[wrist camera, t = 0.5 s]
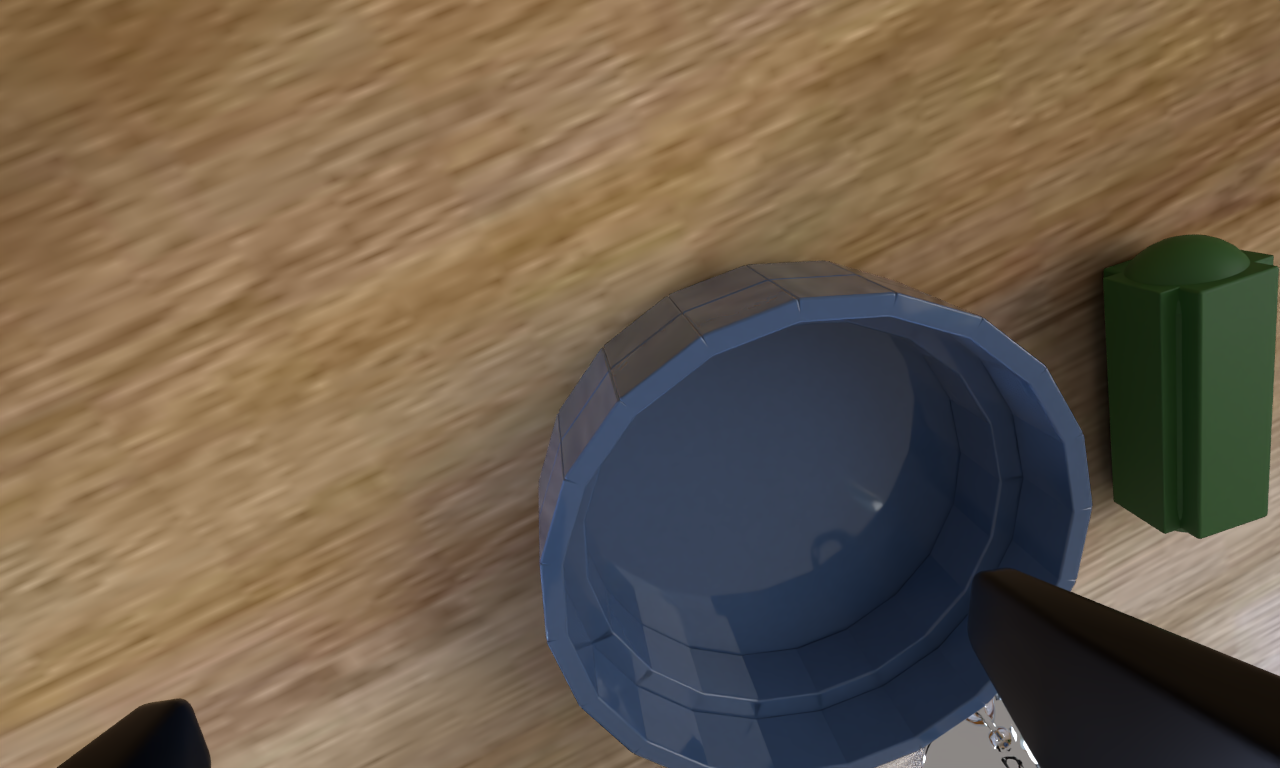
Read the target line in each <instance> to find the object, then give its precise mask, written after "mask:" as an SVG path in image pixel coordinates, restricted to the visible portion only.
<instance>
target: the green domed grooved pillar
mask: <svg viewBox="0 0 1280 768" xmlns="http://www.w3.org/2000/svg"><path fill="white" fill-rule="evenodd" d="M1273 258H1274V257H1273V255H1268V254H1262V253H1256V252H1250V251H1244V250H1239V249H1238V248H1237V247H1236V246H1234V245H1233V244H1230V243H1228V242H1226V241H1224V240H1222V239H1219V238H1215V237H1210V236H1206V235H1182V236H1175V237H1171V238H1167V239H1164V240H1162V241H1159V242H1157V243H1155V244H1153V245H1151V246H1149V247H1147V248H1146V249H1145V250H1143V251H1142V252H1140V253H1139V254H1138V255H1136V257H1135V258H1134V259H1132V260H1129V261H1126V262H1123V263H1120V264H1117V265H1114V266H1111V267H1108V268H1105V269H1104V271H1103V273H1104V278H1103V290H1104V311H1105V331H1106V352H1107V373H1108V393H1109V414H1110V434H1111V455H1112V476H1113V496H1114V502H1116V503H1117V504H1119V505H1120V506H1122V507H1123V508H1125V509H1126V510H1128V511H1130V512H1131V513H1133V514H1134V515H1136V516H1137V517H1139V518H1140V519H1142V520H1144V521H1145V522H1147V523H1148V524H1150V525H1151V526H1153V527H1155V528H1156V529H1158V530H1159V531H1161V532H1162V533H1164V534H1166V533H1169V532H1172V531H1179V532H1186V533H1189V534H1191V535H1193V536H1194V537H1196V538H1198V539H1202V538H1205V537H1208V536H1210V535H1213V534H1216V533H1219V532H1222V531H1225V530H1228V529H1231V528H1234V527H1236V526H1239V525H1242V524H1245V523H1248V522H1251V521H1254V520H1257V519H1260V518H1263V517H1265V516H1267V513H1268V492H1269V470H1270V448H1271V427H1272V405H1273V384H1274V362H1275V340H1276V319H1277V297H1278V276H1279V268H1278V267H1277V266H1274V265H1273Z"/></svg>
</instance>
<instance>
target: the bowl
mask: <svg viewBox="0 0 1280 768" xmlns="http://www.w3.org/2000/svg"><path fill="white" fill-rule="evenodd" d="M538 490H539V560H540V576H541V587H542V599H543V610H544V621H545V633H546V639H547V644H548V646H549V648H550V650H551V652H552V654H553V656H554V658H555V660H556V661H557V663H558V665H559V667H560V669H561V671H562V673H563V675H564V677H565V679H566V681H567V683H568V685H569V687H570V689H571V691H572V693H573V695H574V697H575V699H576V701H577V703H578V704H579V706H581V708H582V709H583V710H584V711H585V712H587V713H588V714H589V715H590V716H591V717H592V718H593V719H595V720H596V721H597V722H598V723H599V724H600V725H601V726H602V727H604V728H605V729H606V730H607V731H608V732H609V733H610V734H611V735H613V736H614V737H615V738H616V739H617V740H618V741H619V742H621V743H622V744H623V745H624V746H625V747H626V748H627V749H628V750H630V751H631V752H632V753H634V754H635V755H638V756H640V757H642V758H645V759H647V760H650V761H652V762H655V763H657V764H659V765H662V766H664V767H667V768H875V767H878V766H881V765H883V764H886V763H888V762H891V761H893V760H896V759H898V758H901V757H903V756H906V755H909V754H911V753H914V752H916V751H919V750H920V749H921V748H924V747H926V746H927V745H929V744H930V743H931V742H933V741H934V740H936V739H937V738H939V737H940V736H942V735H943V734H945V733H946V732H948V731H949V730H951V729H952V728H954V727H955V726H957V725H958V724H960V723H961V722H962V721H964V720H965V719H967V718H968V717H970V716H971V715H973V714H974V713H976V712H977V711H979V710H980V709H982V708H983V707H985V704H988V703H989V702H990V701H991V700H992V699H993V698H994V696H995V695H996V694H997V691H996V690H995V688H994V686H993V684H992V682H991V681H990V679H989V677H988V675H987V674H986V672H985V670H984V668H983V666H982V665H981V663H980V661H979V659H978V658H977V656H976V654H975V652H974V650H973V648H972V646H971V643H970V641H969V637H968V630H967V624H968V614H969V604H970V594H971V585H972V580H973V578H974V576H975V575H976V574H977V573H978V572H980V571H985V570H992V569H998V568H1005V567H1007V568H1013V569H1016V570H1018V571H1021V572H1023V573H1026V574H1028V575H1031V576H1033V577H1036V578H1038V579H1040V580H1043V581H1045V582H1048V583H1050V584H1053V585H1055V586H1058V587H1060V588H1063V589H1065V590H1068V591H1070V592H1071V590H1072V588H1073V586H1074V584H1075V582H1076V579H1077V576H1078V571H1079V567H1080V562H1081V557H1082V553H1083V548H1084V544H1085V539H1086V534H1087V530H1088V525H1089V521H1090V516H1091V511H1092V497H1091V489H1090V481H1089V473H1088V464H1087V456H1086V448H1085V440H1084V435H1083V433H1082V430H1081V428H1080V426H1079V425H1078V423H1077V421H1076V419H1075V417H1074V416H1073V414H1072V412H1071V410H1070V408H1069V407H1068V405H1067V403H1066V401H1065V399H1064V398H1063V396H1062V394H1061V392H1060V390H1059V389H1058V387H1057V385H1056V383H1055V381H1054V380H1053V378H1052V376H1051V374H1050V372H1049V371H1048V369H1047V368H1046V366H1045V365H1044V364H1043V363H1042V362H1040V361H1039V360H1038V359H1036V358H1035V357H1034V356H1033V355H1031V354H1030V353H1029V352H1027V351H1026V350H1025V349H1024V348H1022V347H1021V346H1020V345H1018V344H1017V343H1016V342H1015V341H1013V340H1012V339H1011V338H1009V337H1008V336H1007V335H1006V334H1004V333H1003V332H1002V331H1000V330H999V329H998V328H997V327H995V326H994V325H993V324H991V323H990V322H989V321H988V320H986V319H985V318H983V317H981V316H979V315H977V314H974V313H972V312H970V311H967V310H965V309H962V308H960V307H958V306H955V305H953V304H950V303H948V302H946V301H943V300H941V299H938V298H936V297H933V296H931V295H929V294H926V293H924V292H921V291H919V290H917V289H914V288H912V287H910V286H907V285H905V284H902V283H900V282H898V281H895V280H891V279H888V278H885V277H881V276H878V275H874V274H871V273H867V272H864V271H861V270H857V269H854V268H850V267H847V266H843V265H840V264H837V263H833V262H830V261H806V262H787V263H768V264H749V265H746V266H742V267H739V268H736V269H734V270H731V271H728V272H726V273H723V274H721V275H718V276H715V277H713V278H710V279H708V280H705V281H702V282H700V283H697V284H695V285H692V286H689V287H687V288H684V289H682V290H679V291H676V292H674V293H671V294H669V297H668V296H667V297H665V298H663V299H662V300H661V301H660V302H658V303H657V304H656V305H655V306H653V307H652V308H651V309H649V310H648V311H647V312H646V313H644V314H643V315H642V316H641V317H639V318H638V319H637V320H636V321H634V322H633V323H632V324H630V325H629V326H628V327H627V328H625V329H624V330H623V331H622V332H620V333H619V334H618V335H617V336H615V337H614V338H613V339H611V340H610V341H609V342H608V343H606V344H605V345H604V348H601V349H600V351H599V352H598V354H597V355H596V357H595V358H594V360H593V361H592V363H591V364H590V366H589V367H588V369H587V370H586V371H585V373H584V374H583V376H582V377H581V379H580V380H579V382H578V383H577V385H576V386H575V388H574V389H573V391H572V392H571V394H570V395H569V397H568V398H567V400H566V401H565V403H564V404H563V406H562V407H561V408H560V410H559V413H558V414H557V417H556V420H555V424H554V428H553V431H552V435H551V439H550V442H549V446H548V450H547V453H546V457H545V461H544V464H543V468H542V472H541V475H540V479H539V487H538Z"/></svg>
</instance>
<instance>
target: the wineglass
mask: <svg viewBox="0 0 1280 768" xmlns="http://www.w3.org/2000/svg"><path fill="white" fill-rule="evenodd" d="M921 768H1040V767H1039V765H1038V763H1037V762H1036V760H1035V758H1034V757H1033V755H1032V753H1031V752H1030V750H1029V748H1028V746H1027V745H1026V743H1025V741H1024V739H1023V738H1022V736H1021V734H1020V732H1019V730H1018V729H1017V727H1016V725H1015V723H1014V722H1013V720H1012V718H1011V716H1010V714H1009V713H1008V711H1007V709H1006V707H1005V706H1004V704H1003V702H1002V700H1001V698H1000V697H999V695H998V693H997V694H996V695H995V696H994V698H993V699H992V700H991V701H990V702H989V703H988V704H985V707H983V708H982V709H980V710H979V711H977V712H976V713H974V714H973V715H971V716H970V717H968V718H967V719H965V720H964V721H962V722H961V723H960V724H958V725H957V726H955V727H954V728H952V729H951V730H949V731H948V732H946V733H945V734H943V735H942V736H940V737H939V738H937V739H936V740H934V741H933V742H931V743H930V744H929V745H927V746H926V747H924V751H923V755H922V758H921Z"/></svg>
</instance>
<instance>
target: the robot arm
mask: <svg viewBox="0 0 1280 768" xmlns="http://www.w3.org/2000/svg"><path fill="white" fill-rule="evenodd" d="M967 630H968V637H969V641H970V643H971V646H972V648H973V650H974V652H975V654H976V656H977V658H978V659H979V661H980V663H981V665H982V666H983V668H984V670H985V672H986V674H987V675H988V677H989V679H990V681H991V682H992V684H993V686H994V688H995V690H996V691H997V693H998V695H999V697H1000V698H1001V700H1002V702H1003V704H1004V706H1005V707H1006V709H1007V711H1008V713H1009V714H1010V716H1011V718H1012V720H1013V722H1014V723H1015V725H1016V727H1017V729H1018V730H1019V732H1020V734H1021V736H1022V738H1023V739H1024V741H1025V743H1026V745H1027V746H1028V748H1029V750H1030V752H1031V753H1032V755H1033V757H1034V758H1035V760H1036V762H1037V763H1038V765H1039V767H1040V768H1280V676H1278V675H1275V674H1273V673H1270V672H1268V671H1265V670H1263V669H1261V668H1258V667H1256V666H1253V665H1251V664H1248V663H1246V662H1243V661H1241V660H1238V659H1236V658H1233V657H1231V656H1228V655H1226V654H1223V653H1221V652H1218V651H1216V650H1213V649H1211V648H1209V647H1206V646H1204V645H1201V644H1199V643H1196V642H1194V641H1191V640H1189V639H1186V638H1184V637H1181V636H1179V635H1176V634H1174V633H1171V632H1169V631H1166V630H1164V629H1162V628H1159V627H1157V626H1154V625H1152V624H1149V623H1147V622H1144V621H1142V620H1139V619H1137V618H1134V617H1132V616H1129V615H1127V614H1124V613H1122V612H1120V611H1117V610H1115V609H1112V608H1110V607H1107V606H1105V605H1102V604H1100V603H1097V602H1095V601H1092V600H1090V599H1087V598H1085V597H1082V596H1080V595H1078V594H1075V593H1073V592H1070V591H1068V590H1065V589H1063V588H1060V587H1058V586H1055V585H1053V584H1050V583H1048V582H1045V581H1043V580H1040V579H1038V578H1036V577H1033V576H1031V575H1028V574H1026V573H1023V572H1021V571H1018V570H1016V569H1013V568H1007V567H1005V568H998V569H992V570H985V571H980V572H978V573H977V574H976V575H975V576H974V578H973V580H972V585H971V594H970V604H969V614H968V624H967ZM57 768H211V758H210V754H209V750H208V748H207V745H206V742H205V740H204V737H203V734H202V732H201V729H200V727H199V724H198V721H197V719H196V716H195V713H194V711H193V708H192V707H191V705H190V704H189V703H188V702H187V701H186V700H184V699H171V700H165V701H159V702H152V703H148V704H144V705H142V706H139V707H138V708H136V709H135V710H134V711H132V712H131V713H130V714H128V715H127V716H126V717H124V718H123V719H122V720H120V721H119V722H117V723H116V724H115V725H113V726H112V727H111V728H109V729H108V730H107V731H105V732H104V733H103V734H101V735H100V736H99V737H97V738H96V739H95V740H93V741H92V742H91V743H89V744H88V745H87V746H85V747H84V748H83V749H81V750H80V751H78V752H77V753H76V754H74V755H73V756H72V757H70V758H69V759H68V760H66V761H65V762H64V763H62V764H61V765H60V766H58V767H57Z"/></svg>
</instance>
